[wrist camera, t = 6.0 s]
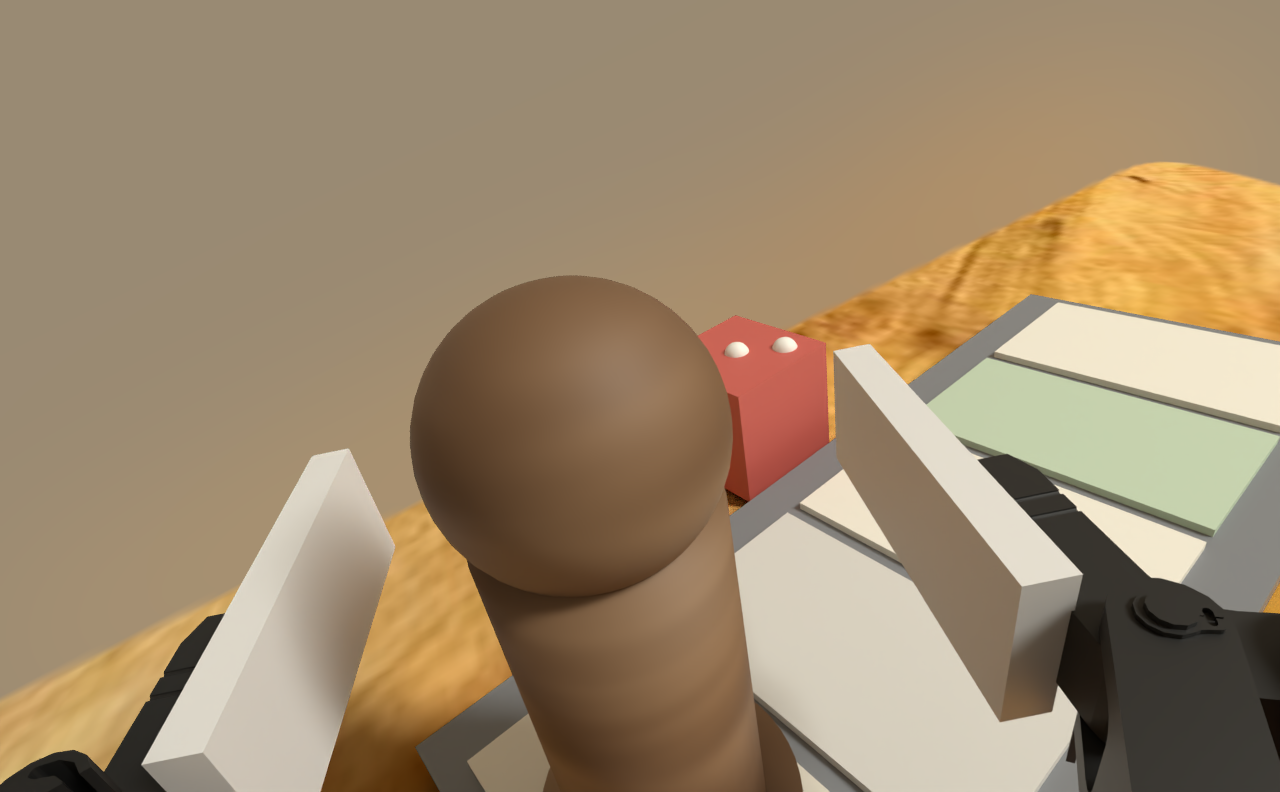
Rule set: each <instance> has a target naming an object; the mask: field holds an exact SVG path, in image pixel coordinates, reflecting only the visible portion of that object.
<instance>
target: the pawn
mask: <svg viewBox="0 0 1280 792" xmlns="http://www.w3.org/2000/svg"><path fill="white" fill-rule="evenodd" d="M732 444H733V428H732V416H731V409H730V404H729V399H728V394H727V391H726V388H725V385H724V383H723V380H722V377H721V375H720V372H719V370H718V367H717V365H716V363H715V362H714V360H713V358H712V356H711V354H710V353H709V351H708V349H707V348H706V346H705V345H704V344H703V342H702V341H701V340H700V339H699V337H698V336H697V335H696V333H695V332H694V331H693V329H692V328H691V327H690V326H689V325H688V324H687V323H686V322H684V321H683V320H682V319H681V318H680V317H679V316H678V315H677V314H676V313H675V312H673V311H672V310H671V309H670V308H668V307H667V306H665V305H664V304H663V303H661V302H660V301H658V300H657V299H655V298H653V297H652V296H650V295H648V294H646V293H643V292H642V291H639V290H637V289H635V288H633V287H631V286H628V285H625V284H622V283H618V282H615V281H611V280H607V279H603V278H596V277H587V276H556V277H549V278H543V279H538V280H534V281H530V282H527V283H523V284H520V285H517V286H514V287H512V288H509V289H507V290H504V291H502V292H500V293H498V294H496V295H494V296H493V297H491V298H490V299H488V300H486V301H485V302H483V303H482V304H480V305H479V306H477V307H476V308H474V309H473V310H472V311H470V312H469V313H468V314H467V315H466V316H465V317H464V318H463V319H462V320H461V321H460V322H459V323H457V324H456V325H455V326H454V327H453V328H452V329H451V331H450V332H449V333H448V334H447V335H446V337H445V338H444V339H443V341H442V342H441V344H440V345H439V346H438V348H437V349H436V351H435V352H434V354H433V355H432V357H431V359H430V361H429V363H428V365H427V367H426V369H425V371H424V373H423V376H422V378H421V381H420V384H419V387H418V390H417V393H416V396H415V400H414V406H413V412H412V418H411V425H410V449H411V458H412V464H413V470H414V476H415V479H416V482H417V485H418V488H419V491H420V494H421V497H422V499H423V502H424V504H425V506H426V508H427V510H428V512H429V514H430V516H431V518H432V519H433V521H434V523H435V524H436V525H437V527H438V528H439V530H440V531H441V532H442V534H443V535H444V536H445V538H446V539H447V540H448V541H449V543H450V544H451V545H452V546H453V547H454V548H455V549H456V550H457V551H458V552H459V553H460V554H462V555H463V556H464V557H465V558H466V559H467V562H468V567H469V570H470V572H471V574H472V577H473V579H474V582H475V584H476V587H477V589H478V592H479V594H480V596H481V599H482V601H483V604H484V606H485V609H486V611H487V614H488V616H489V618H490V621H491V623H492V626H493V628H494V631H495V633H496V636H497V638H498V640H499V643H500V645H501V648H502V650H503V653H504V655H505V658H506V660H507V662H508V665H509V667H510V670H511V672H512V675H513V677H514V679H515V682H516V684H517V687H518V689H519V692H520V694H521V697H522V699H523V701H524V704H525V706H526V709H527V711H528V714H529V716H530V719H531V721H532V723H533V726H534V728H535V731H536V733H537V736H538V738H539V741H540V743H541V745H542V748H543V750H544V753H545V755H546V758H547V760H548V763H549V765H550V769H549V771H548V774H547V778H546V781H545V785H544V788H543V792H803V788H802V782H801V776H800V772H799V768H798V765H797V762H796V758H795V756H794V754H793V751H792V749H791V747H790V745H789V742H788V741H787V739H786V738H785V736H784V734H783V733H782V731H781V729H780V728H779V727H778V725H777V724H776V723H775V722H774V720H773V719H772V718H771V717H770V716H769V715H768V714H767V713H766V712H765V711H764V710H763V709H762V708H761V707H760V706H759V705H758V704H757V703H755V702H754V696H753V688H752V681H751V673H750V666H749V658H748V651H747V643H746V636H745V628H744V621H743V613H742V606H741V599H740V591H739V584H738V576H737V569H736V561H735V554H734V546H733V539H732V531H731V524H730V516H729V509H728V501H727V494H726V491H725V488H724V486H725V482H726V479H727V476H728V472H729V469H730V462H731V454H732Z"/></svg>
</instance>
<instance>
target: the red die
mask: <svg viewBox="0 0 1280 792" xmlns="http://www.w3.org/2000/svg"><path fill="white" fill-rule="evenodd" d="M698 337H699V339H700V340H701V341H702V342H703V344H704V345H705V346H706V348H707V349H708V351H709V353H710V354H711V356H712V358H713V360H714V362H715V363H716V365H717V367H718V370H719V372H720V375H721V377H722V380H723V383H724V385H725V388H726V391H727V394H728V399H729V404H730V409H731V416H732V428H733V444H732V454H731V462H730V469H729V472H728V476H727V479H726V482H725V486H724V488H725V489H727V490H729V491H731V492H732V493H734V494H736V495H738V496H739V497H741V498H743V499H745V500H747V501H748V502H749V501H751V500H752V499H753V498H755V497H756V496H757V495H759V494H760V493H761V492H763V491H764V490H766V489H767V488H768V487H770V486H771V485H772V484H774V483H775V482H776V481H778V480H779V479H781V478H782V477H783V476H785V475H786V474H787V473H789V472H790V471H791V470H793V469H794V468H795V467H797V466H798V465H800V464H801V463H802V462H804V461H805V460H806V459H808V458H809V457H810V456H812V455H813V454H815V453H816V452H817V451H819V450H820V449H821V448H823V447H824V446H825V445H827V444H828V443H829V425H828V396H827V367H826V343H824V342H821V341H818V340H815V339H811V338H808V337H805V336H801V335H798V334H795V333H792V332H788V331H785V330H782V329H778V328H775V327H772V326H769V325H765V324H762V323H759V322H755V321H752V320H749V319H745V318H742V317H739V316H736V315H735V316H733V317H731V318H730V319H728V320H726V321H724V322H723V323H720V324H718V325H717V326H715V327H713V328H711V329H709V330H707V331H706V332H704V333H702V334H700V335H699V336H698Z"/></svg>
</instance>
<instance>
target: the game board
mask: <svg viewBox="0 0 1280 792" xmlns="http://www.w3.org/2000/svg"><path fill="white" fill-rule="evenodd" d="M908 386H909V387H910V388H911V389H912V390H913V391H914V392H915V393H916V395H917V396H918V397H919V398H920V399H921V400H922V401H923V402H924V403H925V404H926V405H927V406H928V407H929V409H930V410H931V411H932V412H933V413H934V414H935V415H936V416H937V417H938V418H939V419H940V420H941V421H942V423H943V424H944V425H945V426H946V427H947V428H948V429H949V430H950V431H951V432H952V433H953V434H954V436H955V437H956V438H957V439H958V440H959V441H960V442H961V443H962V444H963V445H964V446H965V447H966V448H967V450H968V451H969V452H970V453H971V454H972V455H973V456H974V457H975V458H976V459H977V460H978V459H983V458H988V457H993V456H998V455H1003V454H1009V455H1011V456H1013V457H1015V458H1017V459H1019V460H1021V461H1023V462H1025V463H1027V464H1029V465H1031V466H1033V467H1035V468H1037V469H1038V470H1039V471H1040V472H1041V473H1042V474H1043V475H1044V476H1045V477H1046V478H1047V479H1048V480H1050V481H1051V482H1052V483H1053V484H1054V485H1055V486H1056V487H1057V488H1058V489H1059V493H1060V494H1064V495H1065V496H1066V497H1067V498H1068V499H1069V500H1070V501H1071V502H1072V503H1073V504H1074V505H1076V506H1077V510H1078V511H1082V512H1083V513H1084V514H1085V515H1086V516H1087V517H1088V518H1089V519H1090V520H1091V521H1092V522H1093V523H1094V524H1095V525H1096V526H1097V527H1098V528H1099V529H1100V530H1102V531H1103V532H1104V533H1105V534H1106V535H1107V536H1108V537H1109V538H1110V539H1111V540H1112V541H1113V542H1114V543H1115V544H1116V545H1117V546H1118V547H1119V548H1120V549H1121V550H1122V551H1123V552H1124V553H1125V554H1126V555H1127V556H1129V557H1130V558H1131V559H1132V560H1133V561H1134V562H1135V563H1136V564H1137V565H1138V566H1139V567H1140V568H1141V569H1142V570H1143V571H1144V572H1145V573H1146V574H1147V575H1149V576H1150V577H1151V578H1162V579H1165V580H1169V581H1173V582H1177V583H1180V584H1184V585H1186V586H1188V587H1190V588H1192V589H1194V590H1196V591H1198V592H1200V593H1202V594H1204V595H1206V596H1208V597H1210V598H1211V599H1212V600H1213V601H1214V602H1216V603H1217V604H1218V605H1219V606H1220V607H1222V608H1223V609H1227V610H1234V611H1246V612H1262V613H1263V611H1264V609H1265V607H1266V606H1267V604H1268V602H1269V600H1270V599H1271V597H1272V595H1273V593H1274V591H1275V590H1276V588H1277V586H1278V584H1279V583H1280V342H1278V341H1273V340H1268V339H1263V338H1257V337H1252V336H1247V335H1242V334H1236V333H1231V332H1226V331H1221V330H1215V329H1210V328H1205V327H1200V326H1194V325H1189V324H1184V323H1179V322H1173V321H1168V320H1163V319H1158V318H1153V317H1147V316H1142V315H1137V314H1132V313H1126V312H1121V311H1116V310H1111V309H1105V308H1100V307H1095V306H1090V305H1084V304H1079V303H1074V302H1069V301H1063V300H1058V299H1053V298H1048V297H1042V296H1037V295H1032V294H1031V295H1029V296H1028V297H1027V298H1025V299H1024V300H1023V301H1021V302H1020V303H1019V304H1017V305H1016V306H1015V307H1013V308H1012V309H1010V310H1009V311H1008V312H1006V313H1005V314H1004V315H1002V316H1001V317H1000V318H998V319H997V320H995V321H994V322H993V323H991V324H990V325H989V326H987V327H986V328H985V329H983V330H982V331H981V332H979V333H978V334H976V335H975V336H974V337H972V338H971V339H970V340H968V341H967V342H966V343H964V344H963V345H961V346H960V347H959V348H957V349H956V350H955V351H953V352H952V353H951V354H949V355H948V356H946V357H945V358H944V359H942V360H941V361H940V362H938V363H937V364H936V365H934V366H933V367H932V368H930V369H929V370H927V371H926V372H925V373H923V374H922V375H921V376H919V377H918V378H917V379H915V380H914V381H912V382H911V383H910V384H908ZM730 524H731V531H732V539H733V546H734V554H735V561H736V569H737V576H738V584H739V591H740V599H741V606H742V613H743V621H744V628H745V636H746V643H747V651H748V658H749V666H750V673H751V681H752V688H753V696H754V702H755V703H757V704H758V705H759V706H760V707H761V708H762V709H763V710H764V711H765V712H766V713H767V714H768V715H769V716H770V717H771V718H772V719H773V720H774V722H775V723H776V724H777V725H778V727H779V728H780V729H781V731H782V733H783V734H784V736H785V738H786V739H787V741H788V742H789V745H790V747H791V749H792V751H793V754H794V756H795V758H796V762H797V765H798V768H799V772H800V776H801V782H802V788H803V792H1079V786H1078V774H1077V761H1075V763H1071V762H1067V761H1066V757H1067V752H1068V747H1069V743H1070V739H1071V735H1072V731H1073V727H1074V723H1075V719H1076V715H1077V710H1076V709H1075V707H1074V706H1073V705H1072V703H1071V702H1070V701H1069V699H1068V698H1067V697H1066V695H1065V694H1064V693H1063V691H1062V690H1061V688H1060V687H1059V686H1058V688H1057V692H1056V697H1055V701H1054V706H1053V710H1052V712H1049V713H1044V714H1039V715H1034V716H1030V717H1025V718H1020V719H1015V720H1010V721H1005V722H999V720H998V719H997V717H996V715H995V714H994V712H993V711H992V709H991V707H990V706H989V704H988V703H987V701H986V699H985V698H984V696H983V694H982V693H981V691H980V690H979V688H978V686H977V685H976V683H975V681H974V680H973V678H972V677H971V675H970V673H969V672H968V670H967V668H966V667H965V665H964V664H963V662H962V660H961V659H960V657H959V656H958V654H957V652H956V651H955V649H954V647H953V646H952V644H951V643H950V641H949V639H948V638H947V636H946V634H945V633H944V631H943V630H942V628H941V626H940V625H939V623H938V621H937V620H936V618H935V617H934V615H933V613H932V612H931V610H930V609H929V607H928V605H927V604H926V602H925V600H924V599H923V597H922V596H921V594H920V592H919V591H918V589H917V587H916V586H915V584H914V583H913V581H912V579H911V578H910V576H909V574H908V573H907V571H906V570H905V568H904V566H903V565H902V563H901V562H900V560H899V558H898V557H897V555H896V553H895V552H894V550H893V549H892V547H891V545H890V544H889V542H888V540H887V539H886V537H885V536H884V534H883V532H882V531H881V529H880V527H879V526H878V524H877V523H876V521H875V519H874V518H873V516H872V515H871V513H870V511H869V510H868V508H867V506H866V505H865V503H864V502H863V500H862V498H861V497H860V495H859V493H858V492H857V490H856V489H855V487H854V485H853V484H852V482H851V480H850V479H849V477H848V476H847V474H846V472H845V471H844V469H843V468H842V466H841V464H840V463H839V461H838V459H837V458H836V438H835V439H834V440H832V441H831V442H829V443H828V444H827V445H825V446H824V447H823V448H821V449H820V450H819V451H817V452H816V453H815V454H813V455H812V456H810V457H809V458H808V459H806V460H805V461H804V462H802V463H801V464H800V465H798V466H797V467H795V468H794V469H793V470H791V471H790V472H789V473H787V474H786V475H785V476H783V477H782V478H781V479H779V480H778V481H776V482H775V483H774V484H772V485H771V486H770V487H768V488H767V489H766V490H764V491H763V492H761V493H760V494H759V495H757V496H756V497H755V498H753V499H752V500H751V501H749V502H748V503H746V504H745V505H744V506H742V507H741V508H740V509H738V510H737V511H736V512H734V513H733V514H732V515H730ZM415 748H416V750H417V752H418V753H419V755H420V757H421V759H422V761H423V762H424V764H425V766H426V768H427V770H428V771H429V773H430V775H431V777H432V779H433V780H434V782H435V784H436V786H437V787H438V789H439V791H440V792H543V788H544V785H545V781H546V778H547V774H548V771H549V769H550V765H549V763H548V760H547V758H546V755H545V753H544V750H543V748H542V745H541V743H540V741H539V738H538V736H537V733H536V731H535V728H534V726H533V723H532V721H531V719H530V716H529V714H528V711H527V709H526V706H525V704H524V701H523V699H522V697H521V694H520V692H519V689H518V687H517V684H516V682H515V679H514V677H513V675H512V676H511V677H510V678H508V679H507V680H506V681H504V682H503V683H502V684H500V685H499V686H498V687H496V688H495V689H493V690H492V691H491V692H489V693H488V694H487V695H485V696H484V697H483V698H481V699H480V700H478V701H477V702H476V703H474V704H473V705H472V706H470V707H469V708H468V709H466V710H465V711H463V712H462V713H461V714H459V715H458V716H457V717H455V718H454V719H453V720H451V721H450V722H449V723H447V724H446V725H444V726H443V727H442V728H440V729H439V730H438V731H436V732H435V733H434V734H432V735H431V736H429V737H428V738H427V739H425V740H424V741H423V742H421V743H420V744H419V745H417V746H416V747H415Z"/></svg>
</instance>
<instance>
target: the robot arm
mask: <svg viewBox="0 0 1280 792" xmlns="http://www.w3.org/2000/svg"><path fill="white" fill-rule="evenodd" d="M833 353H834V388H835V424H836V458H837V459H838V461H839V463H840V464H841V466H842V468H843V469H844V471H845V472H846V474H847V476H848V477H849V479H850V480H851V482H852V484H853V485H854V487H855V489H856V490H857V492H858V493H859V495H860V497H861V498H862V500H863V502H864V503H865V505H866V506H867V508H868V510H869V511H870V513H871V515H872V516H873V518H874V519H875V521H876V523H877V524H878V526H879V527H880V529H881V531H882V532H883V534H884V536H885V537H886V539H887V540H888V542H889V544H890V545H891V547H892V549H893V550H894V552H895V553H896V555H897V557H898V558H899V560H900V562H901V563H902V565H903V566H904V568H905V570H906V571H907V573H908V574H909V576H910V578H911V579H912V581H913V583H914V584H915V586H916V587H917V589H918V591H919V592H920V594H921V596H922V597H923V599H924V600H925V602H926V604H927V605H928V607H929V609H930V610H931V612H932V613H933V615H934V617H935V618H936V620H937V621H938V623H939V625H940V626H941V628H942V630H943V631H944V633H945V634H946V636H947V638H948V639H949V641H950V643H951V644H952V646H953V647H954V649H955V651H956V652H957V654H958V656H959V657H960V659H961V660H962V662H963V664H964V665H965V667H966V668H967V670H968V672H969V673H970V675H971V677H972V678H973V680H974V681H975V683H976V685H977V686H978V688H979V690H980V691H981V693H982V694H983V696H984V698H985V699H986V701H987V703H988V704H989V706H990V707H991V709H992V711H993V712H994V714H995V715H996V717H997V719H998V720H999V722H1005V721H1010V720H1015V719H1020V718H1025V717H1030V716H1034V715H1039V714H1044V713H1049V712H1052V710H1053V706H1054V701H1055V697H1056V692H1057V688H1058V686H1059V687H1060V688H1061V690H1062V691H1063V693H1064V694H1065V695H1066V697H1067V698H1068V699H1069V701H1070V702H1071V703H1072V705H1073V706H1074V707H1075V709H1076V710H1077V715H1076V719H1075V723H1074V727H1073V731H1072V735H1071V739H1070V743H1069V747H1068V752H1067V757H1066V761H1067V762H1071V763H1075V761H1077V774H1078V786H1079V792H1280V614H1278V613H1262V612H1246V611H1234V610H1227V609H1223V608H1222V607H1220V606H1219V605H1218V604H1217V603H1216V602H1214V601H1213V600H1212V599H1211V598H1210V597H1208V596H1206V595H1204V594H1202V593H1200V592H1198V591H1196V590H1194V589H1192V588H1190V587H1188V586H1186V585H1184V584H1180V583H1177V582H1173V581H1169V580H1165V579H1162V578H1151V577H1150V576H1149V575H1147V574H1146V573H1145V572H1144V571H1143V570H1142V569H1141V568H1140V567H1139V566H1138V565H1137V564H1136V563H1135V562H1134V561H1133V560H1132V559H1131V558H1130V557H1129V556H1127V555H1126V554H1125V553H1124V552H1123V551H1122V550H1121V549H1120V548H1119V547H1118V546H1117V545H1116V544H1115V543H1114V542H1113V541H1112V540H1111V539H1110V538H1109V537H1108V536H1107V535H1106V534H1105V533H1104V532H1103V531H1102V530H1100V529H1099V528H1098V527H1097V526H1096V525H1095V524H1094V523H1093V522H1092V521H1091V520H1090V519H1089V518H1088V517H1087V516H1086V515H1085V514H1084V513H1083V512H1082V511H1078V510H1077V506H1076V505H1074V504H1073V503H1072V502H1071V501H1070V500H1069V499H1068V498H1067V497H1066V496H1065V495H1064V494H1060V493H1059V489H1058V488H1057V487H1056V486H1055V485H1054V484H1053V483H1052V482H1051V481H1050V480H1048V479H1047V478H1046V477H1045V476H1044V475H1043V474H1042V473H1041V472H1040V471H1039V470H1038V469H1037V468H1035V467H1033V466H1031V465H1029V464H1027V463H1025V462H1023V461H1021V460H1019V459H1017V458H1015V457H1013V456H1011V455H1009V454H1003V455H998V456H993V457H988V458H983V459H978V460H977V459H976V458H975V457H974V456H973V455H972V454H971V453H970V452H969V451H968V450H967V448H966V447H965V446H964V445H963V444H962V443H961V442H960V441H959V440H958V439H957V438H956V437H955V436H954V434H953V433H952V432H951V431H950V430H949V429H948V428H947V427H946V426H945V425H944V424H943V423H942V421H941V420H940V419H939V418H938V417H937V416H936V415H935V414H934V413H933V412H932V411H931V410H930V409H929V407H928V406H927V405H926V404H925V403H924V402H923V401H922V400H921V399H920V398H919V397H918V396H917V395H916V393H915V392H914V391H913V390H912V389H911V388H910V387H909V386H908V385H907V384H906V383H905V382H904V380H903V379H902V378H901V377H900V376H899V375H898V374H897V373H896V372H895V371H894V370H893V369H892V368H891V366H890V365H889V364H888V363H887V362H886V361H885V360H884V359H883V358H882V357H881V356H880V355H879V353H878V352H877V351H876V350H875V349H874V348H873V347H872V346H871V345H870V344H867V345H862V346H857V347H852V348H847V349H842V350H837V351H833ZM394 550H395V545H394V543H393V541H392V538H391V536H390V534H389V532H388V530H387V528H386V526H385V524H384V522H383V519H382V517H381V515H380V513H379V511H378V509H377V507H376V505H375V503H374V501H373V498H372V496H371V494H370V492H369V490H368V488H367V486H366V484H365V482H364V480H363V478H362V475H361V473H360V471H359V469H358V467H357V465H356V463H355V461H354V459H353V457H352V454H351V453H350V450H349V449H344V450H339V451H334V452H329V453H324V454H319V455H315V456H312V458H311V459H310V461H309V463H308V465H307V466H306V468H305V470H304V472H303V474H302V476H301V477H300V479H299V481H298V483H297V485H296V487H295V488H294V490H293V492H292V494H291V495H290V497H289V499H288V501H287V503H286V504H285V506H284V508H283V510H282V512H281V513H280V515H279V517H278V519H277V521H276V523H275V524H274V526H273V528H272V530H271V531H270V533H269V535H268V537H267V539H266V541H265V543H264V544H263V546H262V548H261V550H260V552H259V553H258V555H257V557H256V559H255V560H254V562H253V564H252V566H251V568H250V569H249V571H248V573H247V575H246V577H245V579H244V580H243V582H242V584H241V586H240V587H239V589H238V591H237V593H236V595H235V596H234V598H233V600H232V602H231V604H230V605H229V607H228V609H227V611H226V613H224V614H219V615H214V616H209V617H207V618H206V619H205V620H204V621H203V622H202V623H201V624H200V625H199V626H198V627H197V628H196V629H195V630H194V631H193V632H192V633H191V634H190V635H189V636H188V637H187V638H186V639H185V640H184V641H183V642H182V643H181V644H180V646H179V647H178V649H177V651H176V652H175V654H174V656H173V658H172V659H171V661H170V663H169V664H168V666H167V668H166V669H165V671H164V677H162V678H160V679H159V681H158V683H157V684H156V686H155V688H154V689H153V691H152V693H151V694H150V701H148V702H146V703H145V704H144V706H143V708H142V709H141V711H140V713H139V714H138V716H137V718H136V719H135V721H134V723H133V724H132V726H131V728H130V729H129V731H128V733H127V735H126V736H125V738H124V740H123V741H122V743H121V745H120V746H119V748H118V750H117V751H116V753H115V755H114V756H113V758H112V760H111V761H110V763H109V765H108V766H107V768H106V770H105V771H104V772H103V771H102V770H101V769H100V768H99V767H98V766H97V765H96V764H95V763H94V762H93V761H92V760H91V759H90V758H89V757H88V756H87V755H86V754H83V753H80V752H78V751H75V750H70V751H64V752H57V753H53V754H51V755H48V756H46V757H44V758H42V759H39V760H37V761H35V762H32V763H30V764H29V765H27V766H26V767H24V768H23V769H21V770H20V771H18V772H17V773H15V774H14V775H12V776H11V777H9V778H8V779H6V780H5V781H4V782H3V783H2V784H1V785H0V792H321V788H322V785H323V782H324V779H325V775H326V772H327V769H328V765H329V762H330V759H331V756H332V752H333V749H334V746H335V743H336V739H337V736H338V733H339V729H340V726H341V723H342V720H343V716H344V713H345V710H346V707H347V703H348V700H349V697H350V693H351V690H352V687H353V684H354V680H355V677H356V674H357V671H358V667H359V664H360V661H361V658H362V654H363V651H364V648H365V644H366V641H367V638H368V635H369V631H370V628H371V625H372V622H373V618H374V615H375V612H376V608H377V605H378V602H379V599H380V595H381V592H382V589H383V586H384V582H385V579H386V576H387V573H388V569H389V566H390V563H391V559H392V556H393V553H394Z"/></svg>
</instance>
